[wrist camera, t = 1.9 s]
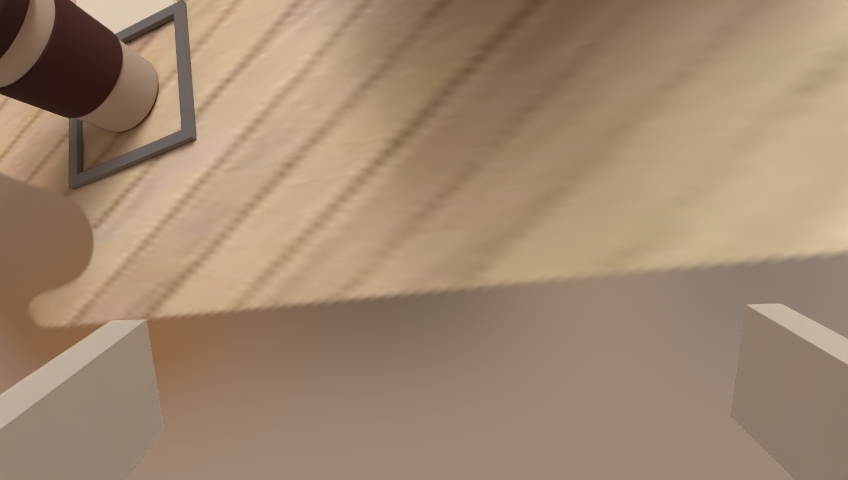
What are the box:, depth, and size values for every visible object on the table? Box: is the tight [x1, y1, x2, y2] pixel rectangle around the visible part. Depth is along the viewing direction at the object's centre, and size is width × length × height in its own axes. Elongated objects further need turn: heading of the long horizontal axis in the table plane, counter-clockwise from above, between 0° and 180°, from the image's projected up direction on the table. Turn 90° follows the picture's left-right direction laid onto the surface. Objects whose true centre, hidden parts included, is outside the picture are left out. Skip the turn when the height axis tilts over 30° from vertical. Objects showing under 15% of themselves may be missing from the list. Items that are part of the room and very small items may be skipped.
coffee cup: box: [0, 0, 158, 132], centre depth 40 cm, size 10×10×15 cm
